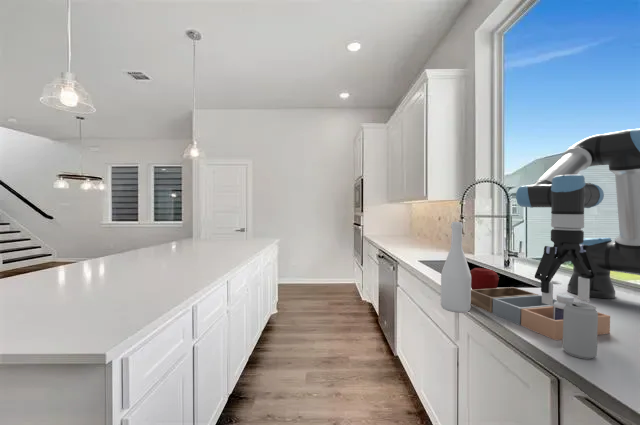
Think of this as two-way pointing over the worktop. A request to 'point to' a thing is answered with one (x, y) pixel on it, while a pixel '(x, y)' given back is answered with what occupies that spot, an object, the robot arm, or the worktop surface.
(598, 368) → the worktop surface
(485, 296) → the walnut bin
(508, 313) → the slate bin
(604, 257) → the robot arm
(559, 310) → the pill bottle
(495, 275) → the apple
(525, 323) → the terracotta bin
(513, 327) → the worktop surface
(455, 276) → the wine bottle
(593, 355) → the beverage can
